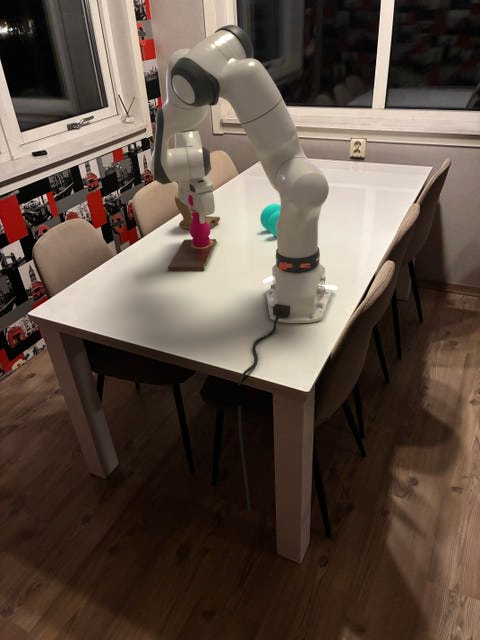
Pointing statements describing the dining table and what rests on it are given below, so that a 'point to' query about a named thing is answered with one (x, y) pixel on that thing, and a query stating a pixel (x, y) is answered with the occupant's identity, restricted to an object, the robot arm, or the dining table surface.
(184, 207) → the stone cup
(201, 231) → the pepper mill
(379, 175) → the dining table surface
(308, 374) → the dining table surface
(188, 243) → the serving board
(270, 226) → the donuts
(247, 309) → the dining table surface
